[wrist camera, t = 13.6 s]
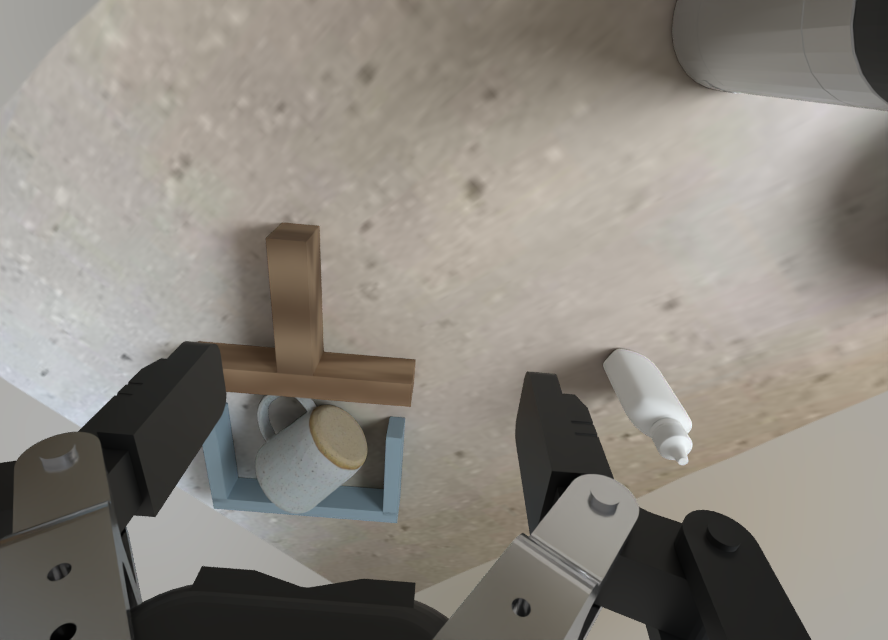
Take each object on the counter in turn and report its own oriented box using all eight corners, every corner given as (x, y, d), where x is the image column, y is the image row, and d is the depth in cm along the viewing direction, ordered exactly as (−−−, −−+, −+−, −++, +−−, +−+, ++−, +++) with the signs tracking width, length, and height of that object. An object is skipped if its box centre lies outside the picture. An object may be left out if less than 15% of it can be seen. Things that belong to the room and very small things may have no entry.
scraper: (176, 212, 40) (149, 228, 36) (424, 235, 40) (420, 252, 37) (202, 363, 47) (181, 388, 43) (414, 380, 47) (410, 406, 44)
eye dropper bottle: (619, 398, 47) (665, 496, 37) (597, 354, 45) (640, 446, 35) (663, 380, 46) (725, 476, 36) (643, 335, 44) (702, 422, 34)
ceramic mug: (379, 430, 50) (365, 487, 43) (326, 470, 53) (305, 531, 46) (297, 363, 47) (268, 414, 40) (245, 410, 49) (210, 465, 43)
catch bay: (212, 401, 49) (198, 421, 46) (405, 417, 49) (402, 438, 46) (225, 486, 54) (214, 508, 51) (399, 500, 54) (396, 523, 52)
